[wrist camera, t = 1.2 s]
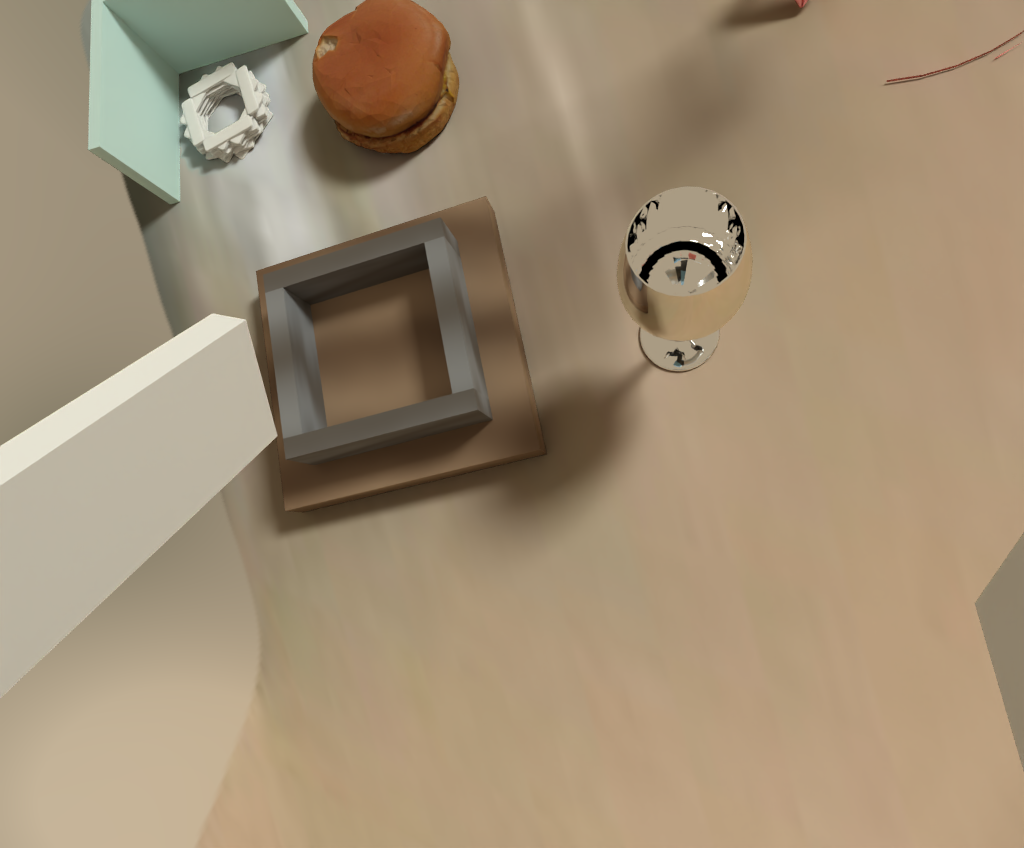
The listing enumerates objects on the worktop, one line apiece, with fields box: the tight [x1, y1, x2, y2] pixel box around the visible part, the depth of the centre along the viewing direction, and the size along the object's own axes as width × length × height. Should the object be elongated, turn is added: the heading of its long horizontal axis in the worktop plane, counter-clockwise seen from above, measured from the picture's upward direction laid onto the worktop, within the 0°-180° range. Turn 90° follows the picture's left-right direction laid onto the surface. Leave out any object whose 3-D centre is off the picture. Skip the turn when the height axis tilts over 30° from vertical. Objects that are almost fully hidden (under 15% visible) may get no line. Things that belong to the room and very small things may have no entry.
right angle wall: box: [88, 0, 308, 204], centre depth 44 cm, size 12×12×8 cm
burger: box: [313, 0, 459, 153], centre depth 42 cm, size 10×9×5 cm
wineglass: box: [617, 186, 753, 371], centre depth 31 cm, size 6×6×12 cm
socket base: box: [256, 196, 547, 512], centre depth 38 cm, size 16×16×5 cm
